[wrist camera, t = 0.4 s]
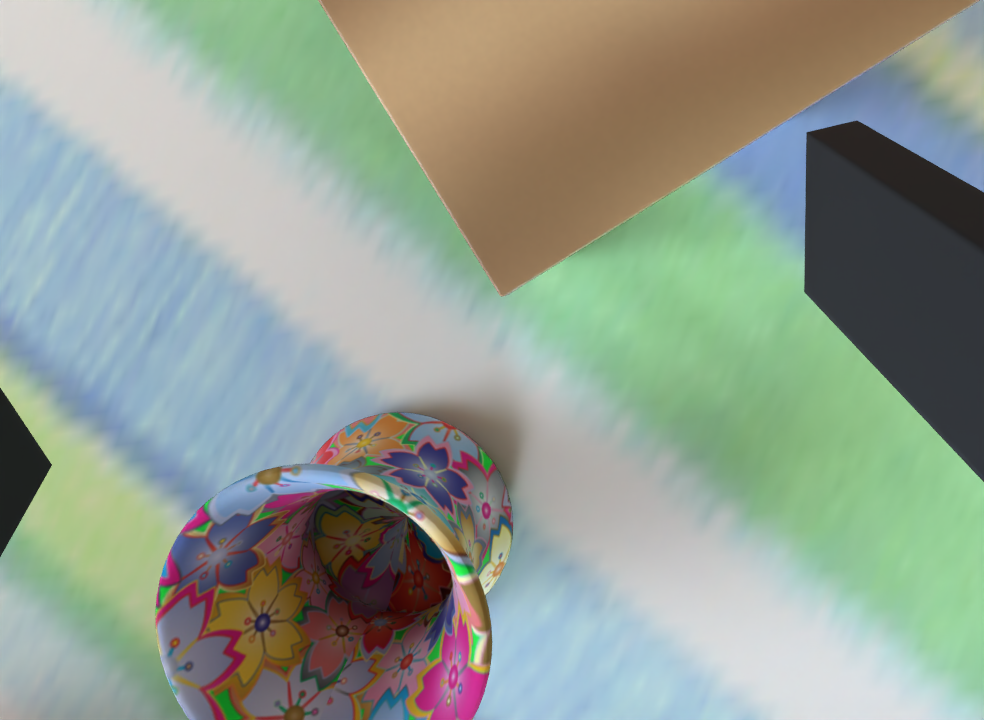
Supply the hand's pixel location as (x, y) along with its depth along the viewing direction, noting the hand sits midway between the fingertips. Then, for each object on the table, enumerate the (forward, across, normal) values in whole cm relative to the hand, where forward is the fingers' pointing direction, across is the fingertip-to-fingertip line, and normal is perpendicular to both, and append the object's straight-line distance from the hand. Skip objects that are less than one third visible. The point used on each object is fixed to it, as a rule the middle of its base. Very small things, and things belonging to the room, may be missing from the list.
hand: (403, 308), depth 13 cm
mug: (+12, +4, +17) cm, 21 cm away
